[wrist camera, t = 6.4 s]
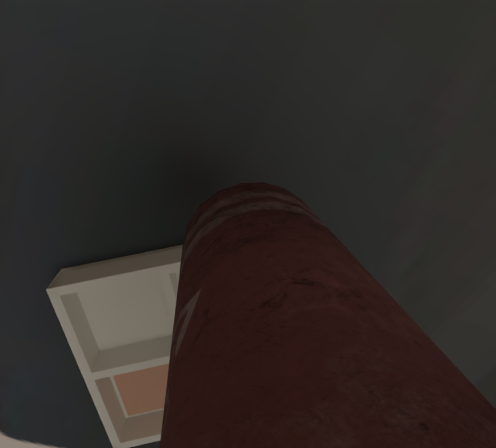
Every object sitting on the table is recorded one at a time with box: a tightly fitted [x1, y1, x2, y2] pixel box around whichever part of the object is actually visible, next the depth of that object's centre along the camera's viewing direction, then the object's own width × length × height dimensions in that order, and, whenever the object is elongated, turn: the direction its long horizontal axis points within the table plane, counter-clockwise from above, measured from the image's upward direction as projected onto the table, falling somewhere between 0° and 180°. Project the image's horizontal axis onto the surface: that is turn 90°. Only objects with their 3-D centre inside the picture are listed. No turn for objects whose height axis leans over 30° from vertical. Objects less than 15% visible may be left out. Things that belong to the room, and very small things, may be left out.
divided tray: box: [46, 245, 183, 448], centre depth 35 cm, size 18×18×4 cm
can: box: [160, 182, 496, 448], centre depth 10 cm, size 6×6×14 cm
